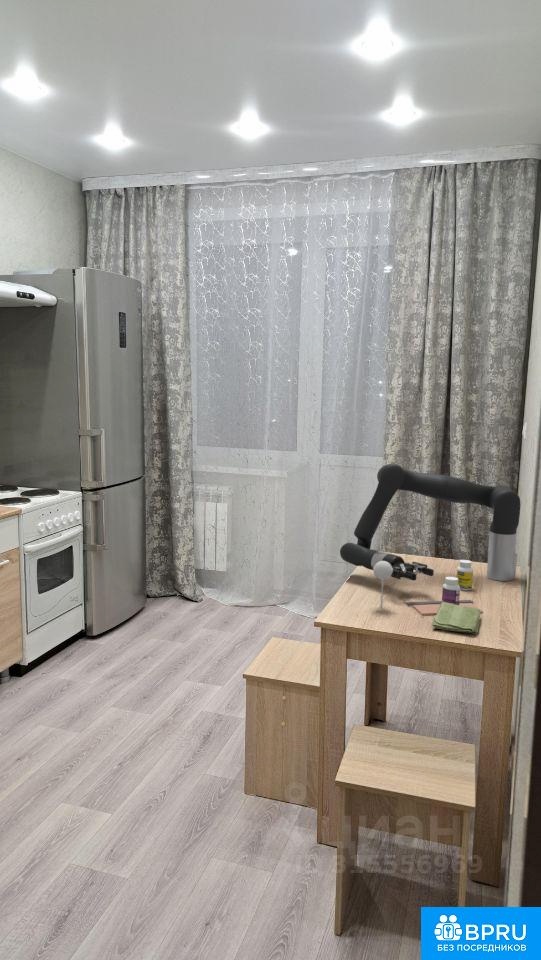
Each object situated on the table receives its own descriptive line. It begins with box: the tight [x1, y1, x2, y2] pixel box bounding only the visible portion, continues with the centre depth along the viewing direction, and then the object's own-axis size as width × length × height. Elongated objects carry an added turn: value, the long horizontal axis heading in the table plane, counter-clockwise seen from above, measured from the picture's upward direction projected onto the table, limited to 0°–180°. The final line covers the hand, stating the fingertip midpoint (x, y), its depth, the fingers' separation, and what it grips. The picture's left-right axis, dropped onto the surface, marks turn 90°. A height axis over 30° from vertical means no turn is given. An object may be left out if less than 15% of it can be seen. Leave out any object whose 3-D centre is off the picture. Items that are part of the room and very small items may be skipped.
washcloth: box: [431, 602, 481, 635], centre depth 204 cm, size 13×18×3 cm
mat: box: [406, 599, 484, 616], centre depth 218 cm, size 22×11×1 cm, turn 99°
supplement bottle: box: [456, 559, 474, 591], centre depth 238 cm, size 5×5×10 cm
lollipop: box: [372, 561, 393, 608], centre depth 217 cm, size 6×6×15 cm
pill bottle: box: [441, 576, 461, 605], centre depth 216 cm, size 5×5×10 cm
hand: (424, 575), depth 224 cm, fingers open, 8 cm apart
